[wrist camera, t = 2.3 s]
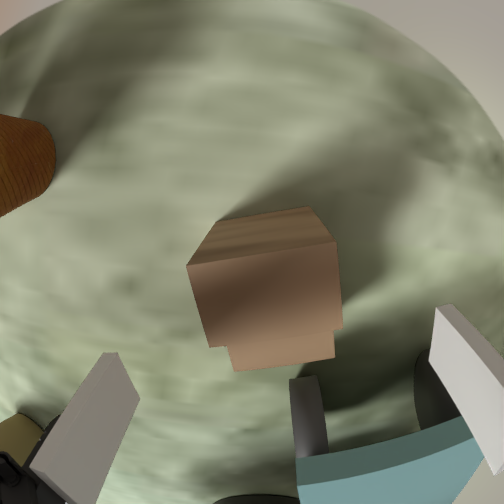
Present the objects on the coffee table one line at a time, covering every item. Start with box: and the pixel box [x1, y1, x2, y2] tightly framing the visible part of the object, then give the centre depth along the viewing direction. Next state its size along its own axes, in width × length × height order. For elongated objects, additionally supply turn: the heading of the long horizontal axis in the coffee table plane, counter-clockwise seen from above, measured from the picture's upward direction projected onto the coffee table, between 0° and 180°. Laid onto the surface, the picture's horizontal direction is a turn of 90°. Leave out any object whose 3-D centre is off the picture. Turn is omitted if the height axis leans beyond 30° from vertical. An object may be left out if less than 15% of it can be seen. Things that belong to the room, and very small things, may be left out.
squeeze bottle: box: [0, 413, 44, 467], centre depth 22 cm, size 8×8×18 cm
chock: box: [186, 206, 343, 372], centre depth 17 cm, size 8×6×8 cm
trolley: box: [289, 349, 484, 504], centre depth 17 cm, size 22×13×18 cm, turn 10°
